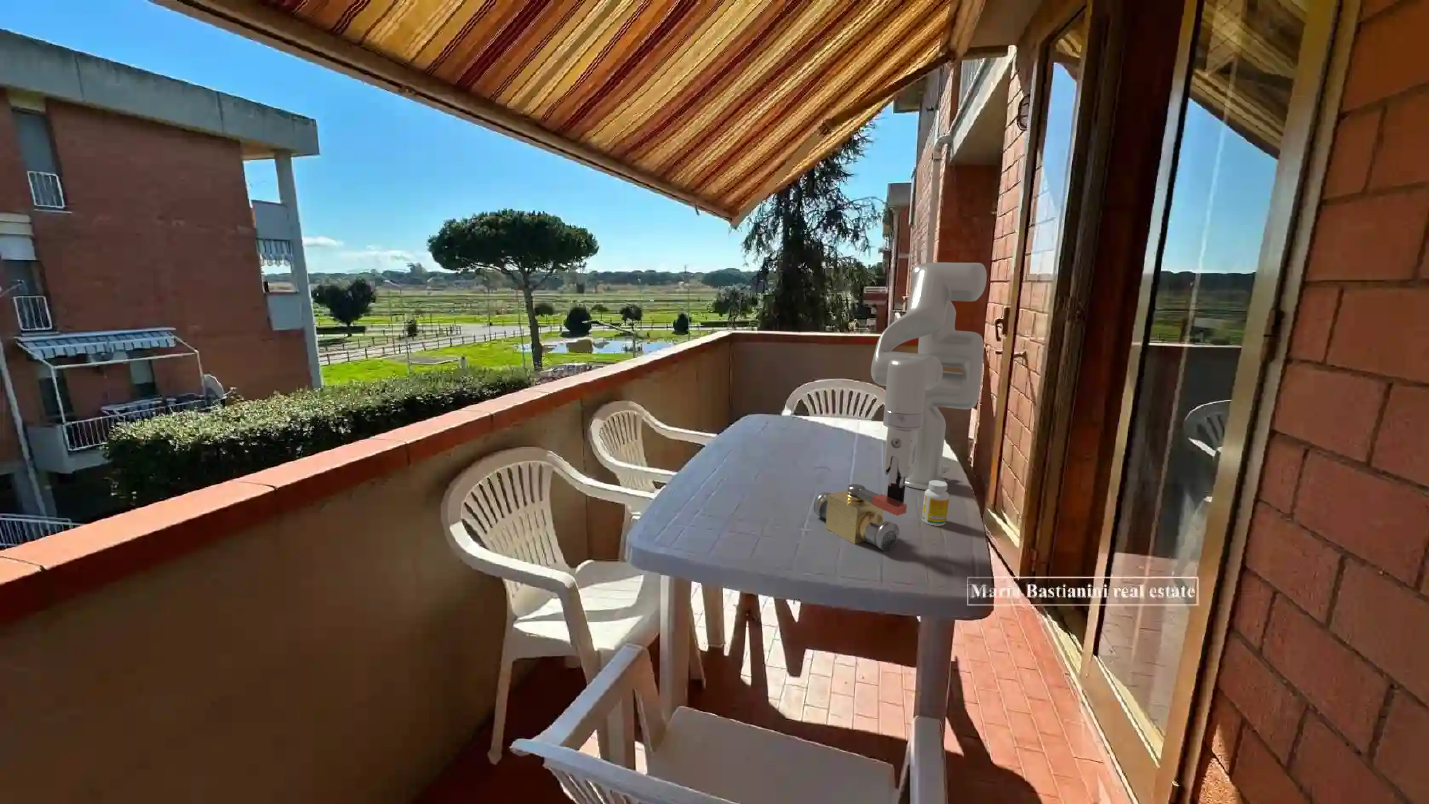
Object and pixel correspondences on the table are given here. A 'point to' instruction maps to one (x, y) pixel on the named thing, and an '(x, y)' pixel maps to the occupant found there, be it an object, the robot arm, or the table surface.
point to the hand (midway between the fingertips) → (894, 503)
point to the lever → (877, 499)
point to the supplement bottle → (935, 503)
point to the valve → (856, 519)
